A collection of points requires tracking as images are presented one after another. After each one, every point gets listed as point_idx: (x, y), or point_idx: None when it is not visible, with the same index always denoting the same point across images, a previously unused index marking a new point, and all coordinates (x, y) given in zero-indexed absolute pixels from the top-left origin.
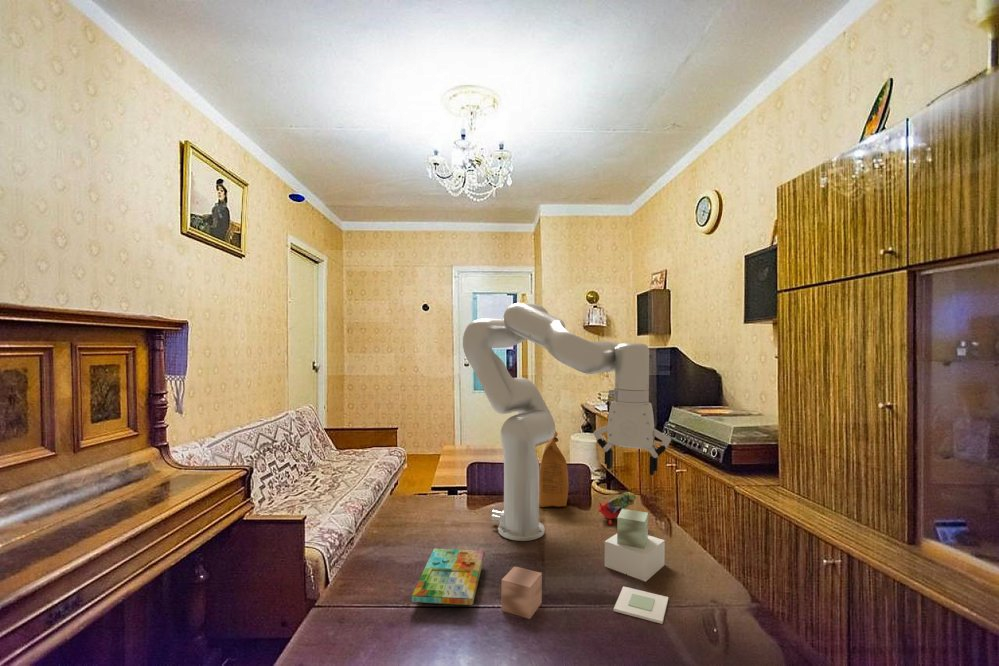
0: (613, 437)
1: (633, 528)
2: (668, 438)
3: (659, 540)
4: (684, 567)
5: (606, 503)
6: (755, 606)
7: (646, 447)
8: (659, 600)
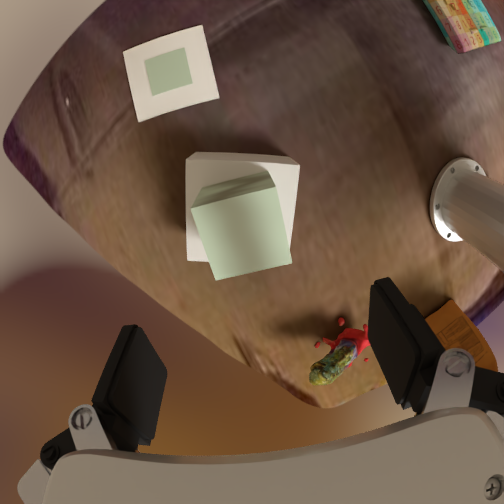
0: (458, 485)
1: (225, 192)
2: (20, 496)
3: (195, 252)
4: (165, 250)
5: (359, 349)
6: (53, 204)
7: (73, 455)
8: (145, 100)
